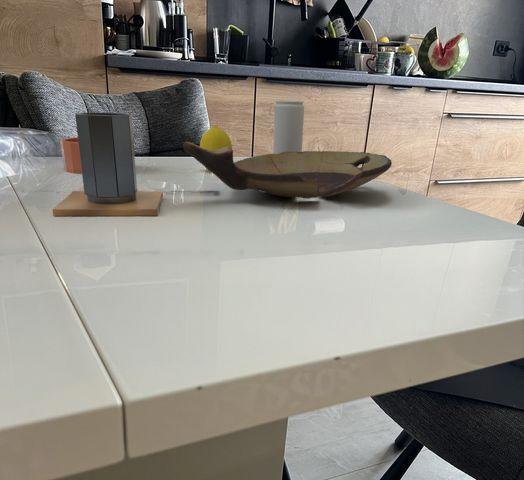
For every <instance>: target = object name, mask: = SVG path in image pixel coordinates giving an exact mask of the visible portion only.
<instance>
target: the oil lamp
mask: <svg viewBox="0 0 524 480" xmlns="http://www.w3.org/2000/svg"><path fill="white" fill-rule="evenodd" d="M182 147H183V150H185V152H186V153H188V155H190V156H191V157H193V159H195V160H196V161H197V162H198V163H199V164H200V165H202V166H203V167H204V168H205V167H206V168H205V169H206V170H208V171H209V172H211V173H212V174H213V175H215V177H217V179H219V180H220V181H221V182H222V183H223V184H224V185H226V186H227V187H228V188H230V189H232V190H236V191H244V190H255V191H258V192H259V191H260V192H261V193H266V194H269V195H274V196H277V197H283V198H290V199H291V198H293V199H294V198H301V199H303V200H304V199H307V200H309V199H316V198H318V197H320V196H321V197H323V198H326V197H331V196H336V195H339V194H343V193H345V192H348V191H351V190H353V189H356V188H358V187H361V186H364V185H365V184H367V183H369V182H371V181H373V180H375V179H377V178H379V177H380V176H382V175H383V174H385V173H386V172H387V171H389V169H390V168H391V167H392V163H393V162H392V160H391V159H390V158H389V157H387V155H384V154H377V153H371V152H366V151H365V152H364V151H335V150H332V151H331V150H328V151H327V150H322V151H321V150H319V151H318V150H313V151H312V150H311V151H309V150H306V151H304V150H303V151H302V152H297V151H296V152H282V153H279V154H274V153H273V152H272V153H268V154H262V155H256V156H251V157H246V158H243V159H240V160H237V161H234V150H233V147H232V148H230V147H224V148H221V149H218V150H214V151H211V150H207V149H204V148H201V147H200V145H197V144H195V143H193V142H190V141H185V142H184V143H183V145H182ZM360 165H362V166H360ZM359 166H360V167H359Z"/></svg>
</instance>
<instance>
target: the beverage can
mask: <svg viewBox="0 0 524 480" xmlns="http://www.w3.org/2000/svg"><path fill="white" fill-rule="evenodd" d="M273 115H274V116H273V152H272V154H273V153H274V154H279V153H282V152H296V151H297V152H303V135H304V120H305V119H304V117H305V105H304V100H275V104H274V114H273Z"/></svg>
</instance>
